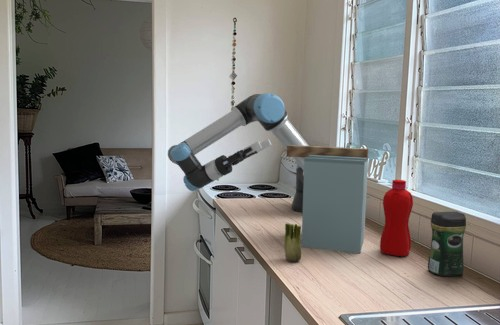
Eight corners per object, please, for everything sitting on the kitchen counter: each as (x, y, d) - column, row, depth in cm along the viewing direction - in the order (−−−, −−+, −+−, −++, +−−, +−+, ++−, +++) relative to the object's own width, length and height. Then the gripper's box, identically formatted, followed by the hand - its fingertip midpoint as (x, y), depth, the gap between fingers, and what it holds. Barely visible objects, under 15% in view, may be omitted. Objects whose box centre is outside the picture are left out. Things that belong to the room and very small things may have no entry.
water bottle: (412, 250, 161) (417, 178, 158) (405, 258, 152) (410, 183, 148) (386, 245, 166) (390, 176, 162) (377, 253, 156) (381, 180, 153)
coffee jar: (450, 267, 145) (455, 208, 142) (467, 276, 137) (472, 214, 135) (422, 268, 143) (426, 209, 140) (438, 278, 135) (442, 215, 133)
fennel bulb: (282, 258, 150) (283, 222, 148) (295, 257, 151) (297, 221, 150) (289, 264, 144) (291, 226, 143) (304, 262, 146) (305, 225, 144)
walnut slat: (286, 156, 172) (286, 145, 172) (289, 155, 176) (289, 145, 176) (367, 160, 164) (367, 149, 163) (367, 159, 167) (368, 148, 167)
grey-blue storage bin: (310, 233, 179) (313, 152, 176) (364, 239, 173) (368, 155, 170) (301, 246, 162) (304, 157, 159) (360, 253, 156) (364, 161, 153)
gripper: (234, 172, 195) (278, 149, 188) (211, 180, 171) (260, 154, 164) (226, 156, 195) (269, 132, 188) (202, 162, 172) (250, 135, 165)
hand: (265, 143), depth 176 cm, fingers open, 13 cm apart
